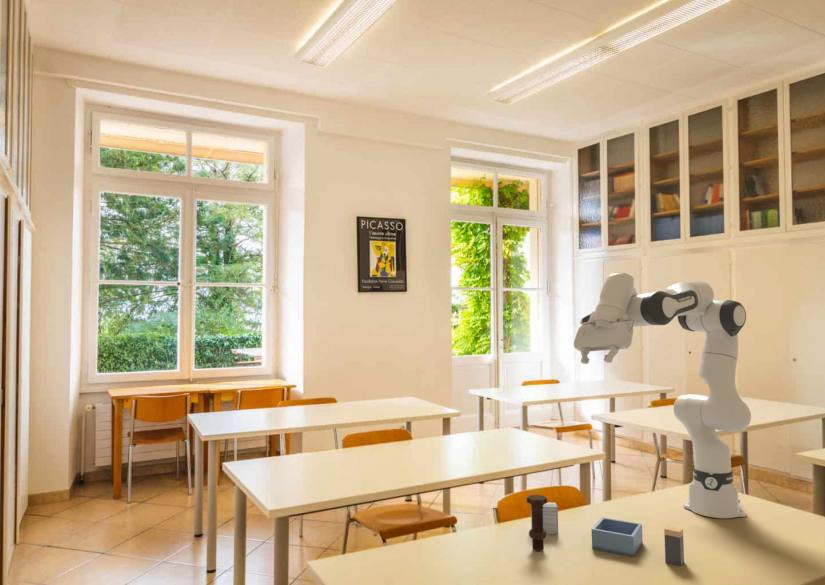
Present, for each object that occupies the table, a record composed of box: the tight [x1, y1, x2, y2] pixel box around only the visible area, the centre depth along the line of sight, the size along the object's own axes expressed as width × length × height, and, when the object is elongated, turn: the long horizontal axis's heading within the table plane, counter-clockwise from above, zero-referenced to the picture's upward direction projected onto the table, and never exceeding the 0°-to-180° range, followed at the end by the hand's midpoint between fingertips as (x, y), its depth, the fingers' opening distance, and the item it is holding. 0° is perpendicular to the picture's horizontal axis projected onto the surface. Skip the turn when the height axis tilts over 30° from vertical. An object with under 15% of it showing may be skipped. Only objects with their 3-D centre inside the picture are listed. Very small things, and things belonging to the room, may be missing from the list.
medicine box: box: [530, 501, 560, 535], centre depth 184 cm, size 8×4×9 cm, turn 84°
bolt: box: [526, 494, 548, 552], centre depth 171 cm, size 6×5×15 cm
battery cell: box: [663, 525, 685, 567], centre depth 160 cm, size 3×4×9 cm
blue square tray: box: [591, 517, 644, 558], centre depth 172 cm, size 12×12×6 cm
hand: (595, 362), depth 173 cm, fingers open, 8 cm apart
